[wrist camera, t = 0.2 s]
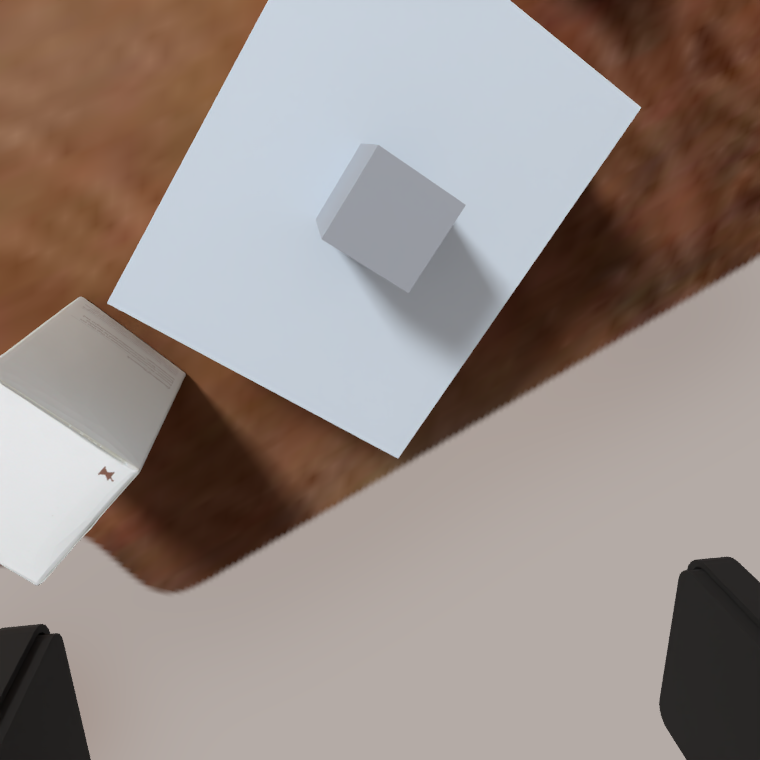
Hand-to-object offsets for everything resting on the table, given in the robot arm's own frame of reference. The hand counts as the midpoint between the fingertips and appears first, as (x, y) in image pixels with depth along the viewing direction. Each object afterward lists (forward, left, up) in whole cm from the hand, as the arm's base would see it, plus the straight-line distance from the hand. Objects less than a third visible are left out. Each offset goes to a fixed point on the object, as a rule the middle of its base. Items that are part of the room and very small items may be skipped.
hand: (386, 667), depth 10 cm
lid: (-5, -1, -22) cm, 23 cm away
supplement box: (+12, -8, -30) cm, 33 cm away
